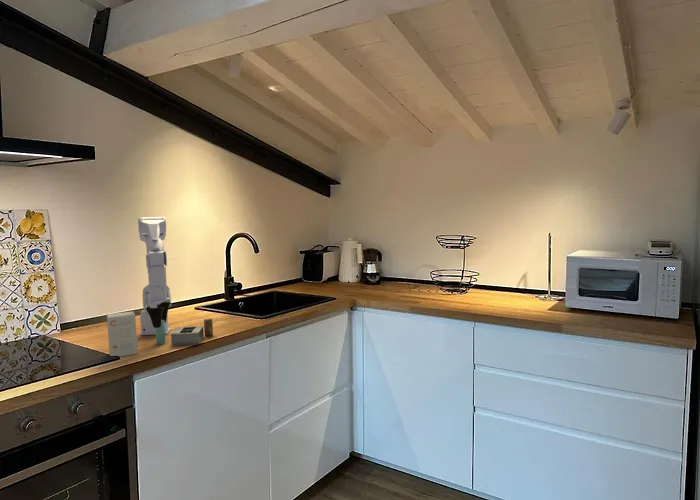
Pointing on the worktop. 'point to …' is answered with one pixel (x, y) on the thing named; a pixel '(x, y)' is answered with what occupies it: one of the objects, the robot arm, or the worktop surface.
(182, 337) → the bore block
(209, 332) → the walnut dowel
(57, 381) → the worktop surface
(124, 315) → the small box
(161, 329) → the teal dowel
